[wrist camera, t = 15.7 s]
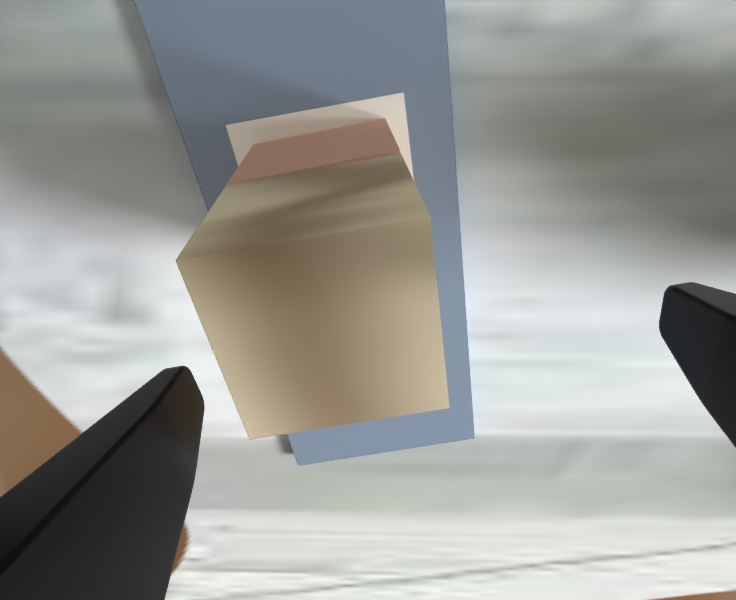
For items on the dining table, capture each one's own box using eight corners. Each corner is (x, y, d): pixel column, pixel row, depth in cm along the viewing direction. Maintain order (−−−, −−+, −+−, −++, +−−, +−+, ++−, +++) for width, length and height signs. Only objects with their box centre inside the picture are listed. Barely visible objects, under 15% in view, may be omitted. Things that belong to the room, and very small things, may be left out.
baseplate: (409, -423, 12) (413, -452, 11) (471, 427, 27) (474, 438, 26) (26, -337, 12) (7, -359, 12) (299, 454, 28) (297, 466, 27)
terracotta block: (385, 118, 18) (400, 150, 13) (403, 240, 20) (421, 300, 16) (253, 144, 18) (226, 183, 14) (288, 262, 20) (274, 326, 16)
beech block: (400, 152, 13) (430, 215, 9) (419, 302, 16) (449, 407, 12) (227, 183, 14) (175, 259, 9) (273, 327, 16) (249, 439, 12)
